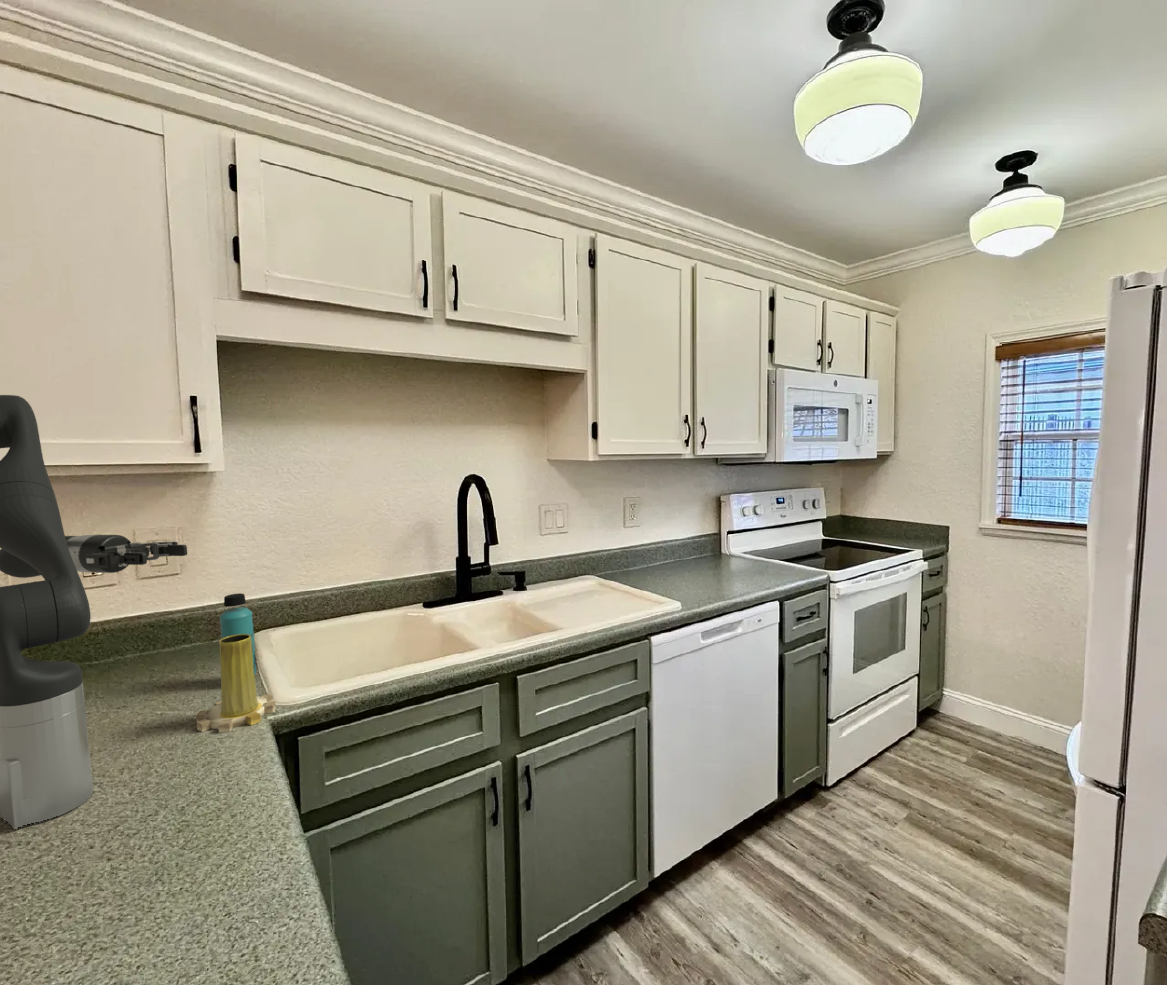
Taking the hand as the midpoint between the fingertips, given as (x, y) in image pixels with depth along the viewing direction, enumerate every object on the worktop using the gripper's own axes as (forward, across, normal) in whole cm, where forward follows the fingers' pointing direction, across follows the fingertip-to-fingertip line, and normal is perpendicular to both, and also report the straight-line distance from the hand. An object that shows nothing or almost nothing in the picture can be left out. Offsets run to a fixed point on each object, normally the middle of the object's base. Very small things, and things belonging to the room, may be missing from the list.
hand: (166, 554), depth 107 cm
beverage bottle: (0, +15, +32) cm, 36 cm away
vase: (+14, 0, +31) cm, 34 cm away
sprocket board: (+13, +1, +32) cm, 34 cm away
